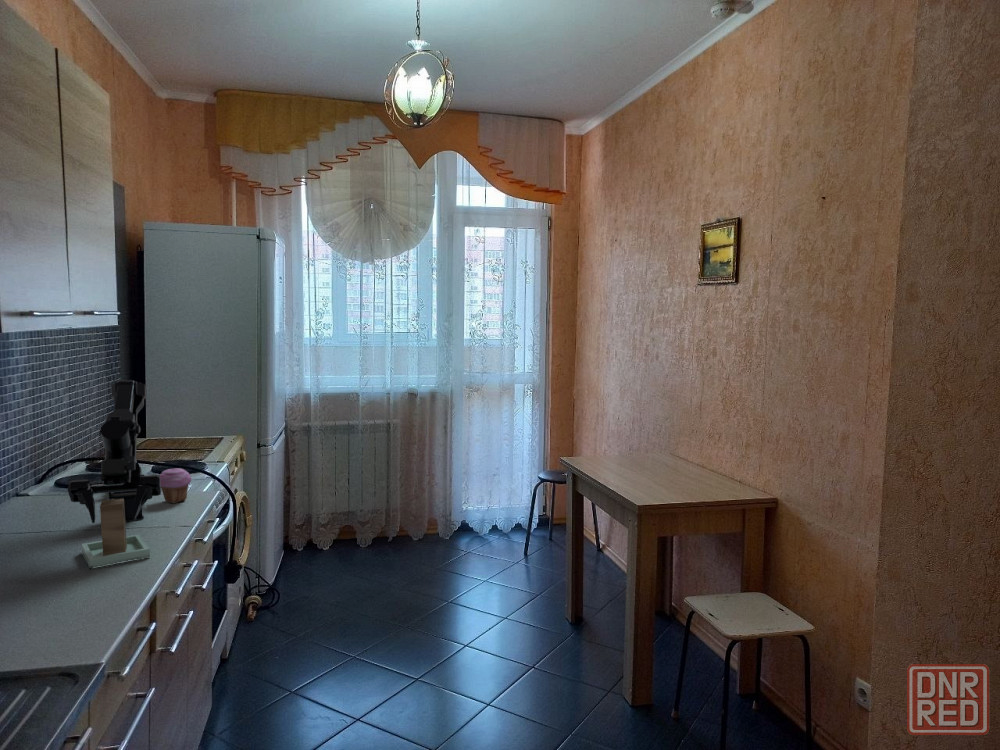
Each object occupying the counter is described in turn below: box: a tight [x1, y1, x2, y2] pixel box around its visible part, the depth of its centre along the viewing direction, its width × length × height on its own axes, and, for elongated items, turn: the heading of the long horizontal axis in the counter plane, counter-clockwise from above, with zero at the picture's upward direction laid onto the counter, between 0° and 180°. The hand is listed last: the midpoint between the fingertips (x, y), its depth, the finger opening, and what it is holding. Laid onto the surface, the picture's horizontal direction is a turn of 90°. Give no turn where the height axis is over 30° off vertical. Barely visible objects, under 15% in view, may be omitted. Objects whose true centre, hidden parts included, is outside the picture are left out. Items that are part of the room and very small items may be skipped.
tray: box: [81, 534, 151, 569], centre depth 154 cm, size 12×12×2 cm
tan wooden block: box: [99, 498, 127, 556], centre depth 154 cm, size 4×4×12 cm
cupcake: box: [158, 467, 192, 504], centre depth 197 cm, size 9×9×10 cm
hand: (113, 520), depth 152 cm, fingers open, 8 cm apart
